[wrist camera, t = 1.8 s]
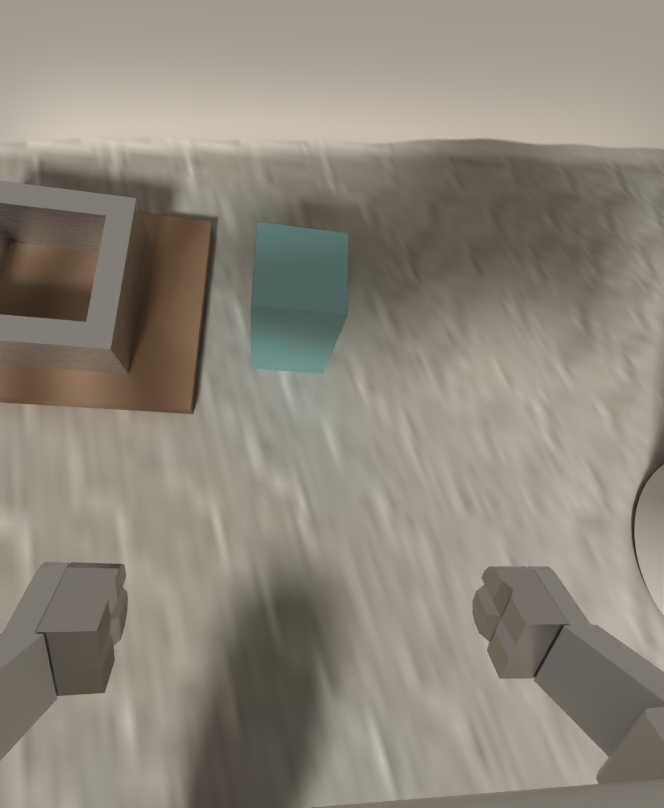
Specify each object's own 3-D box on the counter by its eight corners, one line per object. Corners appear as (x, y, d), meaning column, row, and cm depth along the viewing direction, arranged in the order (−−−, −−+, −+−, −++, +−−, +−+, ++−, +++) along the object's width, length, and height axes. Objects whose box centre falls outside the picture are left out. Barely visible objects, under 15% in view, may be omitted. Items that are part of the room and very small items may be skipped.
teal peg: (324, 309, 35) (348, 233, 26) (322, 373, 33) (347, 314, 25) (255, 303, 34) (257, 221, 25) (250, 368, 32) (250, 304, 24)
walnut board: (212, 231, 35) (211, 221, 34) (192, 413, 31) (190, 408, 30) (-58, 199, 32) (-70, 187, 31) (-120, 394, 28) (-135, 388, 27)
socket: (149, 238, 32) (136, 197, 29) (128, 374, 30) (110, 349, 26) (-10, 220, 31) (-46, 175, 27) (-49, 361, 28) (-95, 332, 24)
